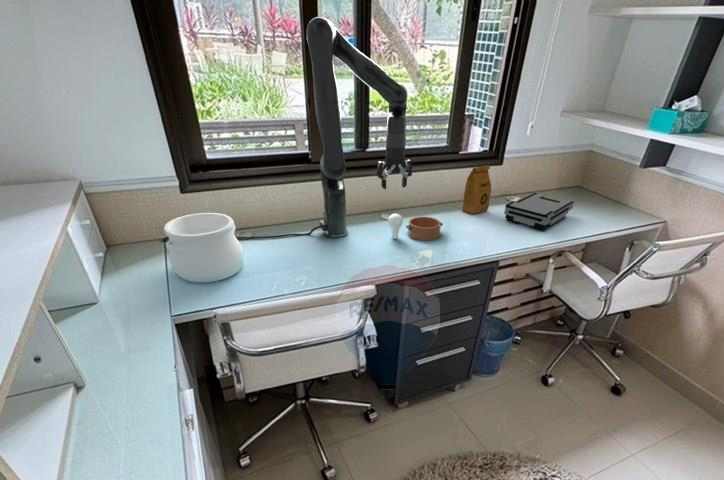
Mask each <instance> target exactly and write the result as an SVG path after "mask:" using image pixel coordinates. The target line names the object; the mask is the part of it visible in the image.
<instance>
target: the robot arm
mask: <svg viewBox="0 0 724 480" xmlns="http://www.w3.org/2000/svg"><path fill="white" fill-rule="evenodd" d="M306 40H307V46H308V50H309V57H310V61H311V67H312V82H313V83H312V84H313V95H314V96H313V97H314V107H315V114H316V115H315V116H316V120H317V125H318V130H319V133H320V137H321V141H322V151H323V153H322V156H321V158H320V161H319V167H320V169H319V170H320V180H321V187H322V188H321V189H322V195H323V212H322V216H323V219H322V220H319V225H317V226H314V228H312V229H311V230H310V231H309V232H306V233H285V234H284V233H283V234H276V235H263V236H261V235H260V236H235V237H236V239H237V240H247V239H248V240H256V239H274V238H281V237H282V238H283V237H290V236H291V237H293V236H298V237H299V236H309V235H311V234H312V233H314V231H315V230H317V229H321V231H322V232H324V233H325V235H326V236H327V237H328V238H342V237H346V235H347V234H348V228H347V227H348V226H347V225H348V223H347V200H346V199H347V198H346V197H347V196H346V186H345V181H344V180H345V179H344V175H345V173H346V168H347V166H346V160H345V155H344V148H343V141H342V140H343V138H342V107H341V97H340V90H339V86H338V82H337V78H336V75H335V67H334V57H335V58H336V59H337V60H339V61H340V62H341V63H342V64H344V65H345V66H346V67H347V68H348V69H349V71H351V72H352V73H353V74H354V75H355V76H356V77H357V78H358V80H360V81H361V82H363V83H365V85H367V87H369V88H371V90H373V91H374V92H376V93H377V94H378V95H379V96H380V97H381V98H382V99H383V100H385V101H386V103H388V116H387V122H386V123H387V124H386V137H385V161H380V160H378V161H377V168H376V177H377V178H378V179H381V184H380V185H381V188H382V189H383V190H386V189H387V178H388V177H389V176H390V175H391V174H395V173H397V174H399V173H400V174H401V176H402V177H401V187H402V188H406V187H407V185H408V178H409V177H412V175H413V162H412V160H411V159H406V160H405V158H406V145H407V137H406V130H407V129H406V128H407V115H406V114H407V105H408V90H407V88H406V86H404V85H403V84H401V83H399V82H397V81H395V79H393V78H392V77H390V76H389V75H388V73H387V72H386V71H385V70H384V69H383V68H382V67H381V66H380V65H378V64H377V63H376V62H374V61H373V60H372V59H371V58H369V57H368V56H366V55H365V54H364V53H363V52H361V51H360V50H359V49H358V48H356V47H355V46H354V45H353V44H352V43H351V42H349V40H347V39H346V38H345V36H344V35H343V34H342V33H341V32H340V31H339V30H338V28H336V26H335V25H334V24H333V22H332V21H331V20H330V19H328V18H325V17H321V16H316V17H314V18H312V19H311V20H309V23H307V27H306ZM384 167H385V169H383V168H384ZM405 167H406V170H405V169H404V168H405ZM166 240H169V237H168V236H165V237H163V239H162V242H166Z"/></svg>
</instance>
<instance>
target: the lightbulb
mask: <svg viewBox="0 0 724 480" xmlns="http://www.w3.org/2000/svg"><path fill="white" fill-rule="evenodd" d="M403 222H404V220H403V217H402V215H400V214H399V213H392V214H390V215H389V216H388V225H389V227H390V230H391V238H393V239H394V240H396V239H398V238H399V233H400V229H401V227H402V225H403Z"/></svg>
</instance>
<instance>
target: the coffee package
mask: <svg viewBox="0 0 724 480" xmlns="http://www.w3.org/2000/svg"><path fill="white" fill-rule="evenodd" d="M490 169H491V166H490V164H488V165H483V166H482V165H481V166H476V167H473V168H472V170H471V171H470V173H469V175H468V176H467V178H466V182H465V187H464V191H463V199H462V200H463V201H462V209H461V210H462V212H466V213H469V214H472V215H474V214H479V213H483V212H487V211H488V210H489V207H490V200H491V194H492V183H491V178H490V173H489V170H490Z"/></svg>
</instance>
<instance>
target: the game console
mask: <svg viewBox="0 0 724 480" xmlns="http://www.w3.org/2000/svg"><path fill="white" fill-rule="evenodd" d="M574 204H575V201H572V200H568V199H563V200H556V199H552V198H547V197H545V194H542V193H538V192H534V193H531V194H529V195H527V196H525V197H523V198H521V199H518V200H517V201H511V202H508V203H506V204H505V208H504V212H503V213H504V214H503V215H505V218H504V219H506V221H507V222H509V223H513V224H515V225H516V224H520V223H521V224H525V225H528V226H531V229H535V230H538V231H542V232H545V231H546V230H548V229H551V228H552V227H553V226H554V225H556V224H557V223H559V222H561V221H563V220H564V219H565V218H566V216H567V214H568V213H569V212H570V211H571V210H572V209H573V208H574Z"/></svg>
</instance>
